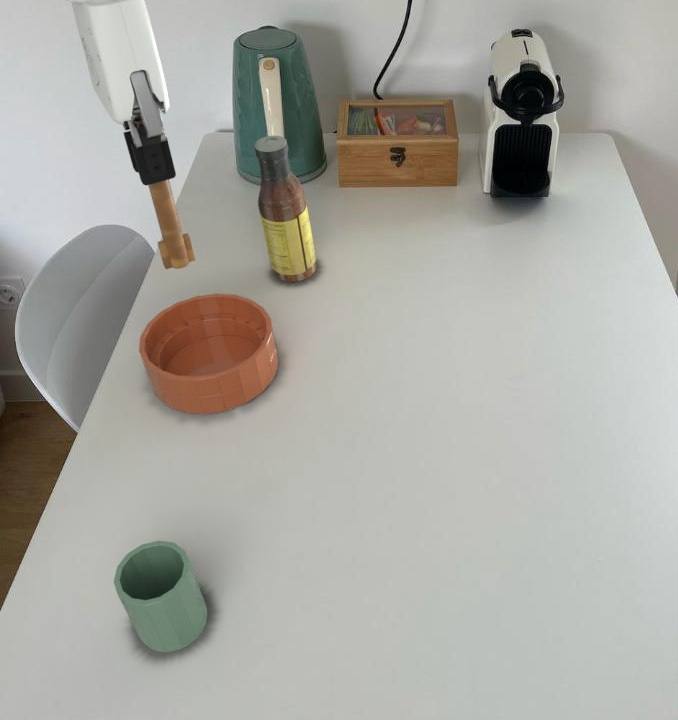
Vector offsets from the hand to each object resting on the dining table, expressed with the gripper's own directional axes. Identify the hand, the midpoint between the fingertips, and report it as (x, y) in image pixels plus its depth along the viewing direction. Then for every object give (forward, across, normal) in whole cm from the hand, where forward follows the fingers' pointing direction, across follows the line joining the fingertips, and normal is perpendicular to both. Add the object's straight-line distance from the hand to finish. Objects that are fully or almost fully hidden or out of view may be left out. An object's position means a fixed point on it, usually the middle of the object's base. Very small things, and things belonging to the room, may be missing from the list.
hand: (154, 172), depth 77 cm
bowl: (+29, -2, +1) cm, 29 cm away
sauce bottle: (+29, -16, +17) cm, 37 cm away
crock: (+29, +27, -13) cm, 42 cm away
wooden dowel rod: (+11, 0, 0) cm, 11 cm away
